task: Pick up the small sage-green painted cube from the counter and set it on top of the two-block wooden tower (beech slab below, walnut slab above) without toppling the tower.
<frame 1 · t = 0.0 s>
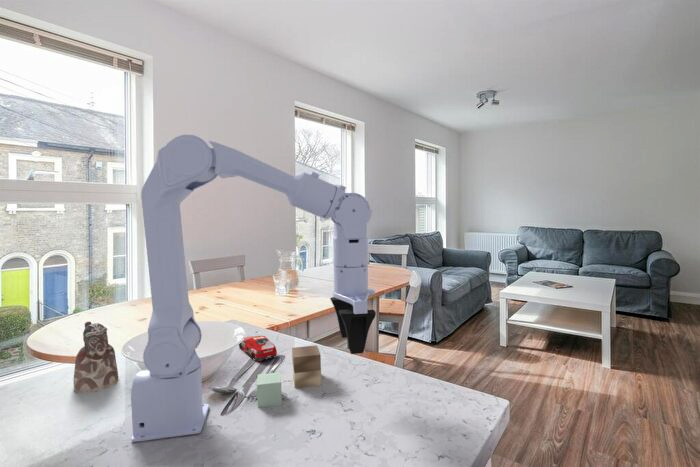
hand: (351, 344, 63), 10 cm above the kitchen counter, tool pointing down, fingers open, 7 cm apart
walnut top block: (306, 366, 72), point 3 cm above the kitchen counter, touching beech base block
beech base block: (307, 381, 72), on the kitchen counter, touching walnut top block
sage cube: (269, 400, 65), on the kitchen counter
figurine: (96, 385, 72), on the kitchen counter
race car: (257, 354, 87), on the kitchen counter
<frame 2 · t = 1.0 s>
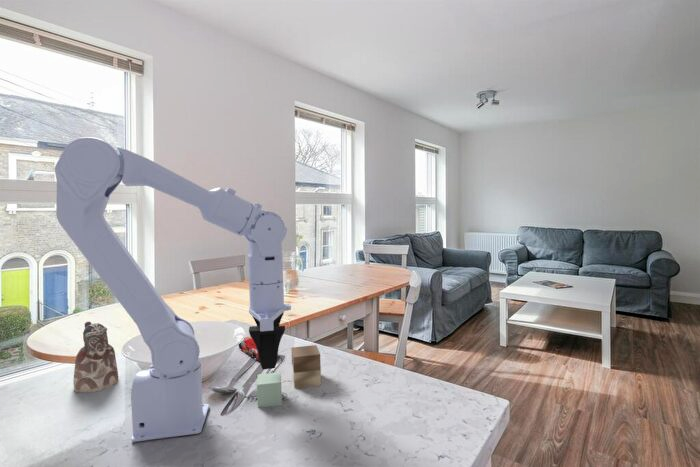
hand: (269, 358, 65), 7 cm above the kitchen counter, tool pointing down, fingers open, 7 cm apart
walnut top block: (305, 365, 72), point 3 cm above the kitchen counter
beech base block: (306, 381, 72), on the kitchen counter
everything else where it was.
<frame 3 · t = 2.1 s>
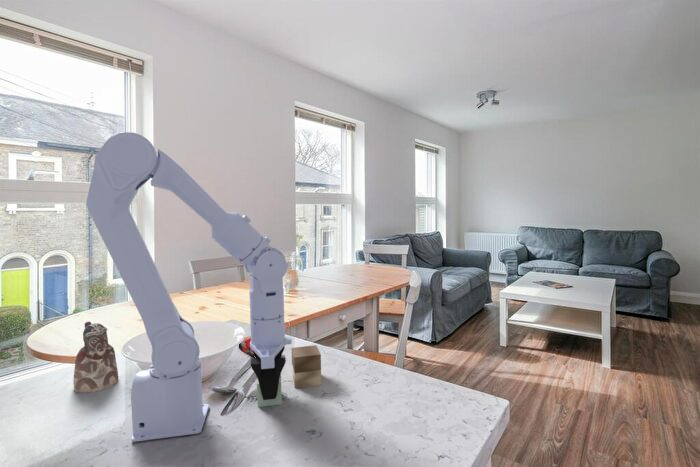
hand: (269, 391, 65), 1 cm above the kitchen counter, tool pointing down, fingers closed on sage cube, 4 cm apart
walnut top block: (306, 366, 72), point 3 cm above the kitchen counter, touching beech base block
beech base block: (306, 381, 72), on the kitchen counter, touching walnut top block
sage cube: (270, 399, 65), on the kitchen counter, touching gripper
everything else where it was.
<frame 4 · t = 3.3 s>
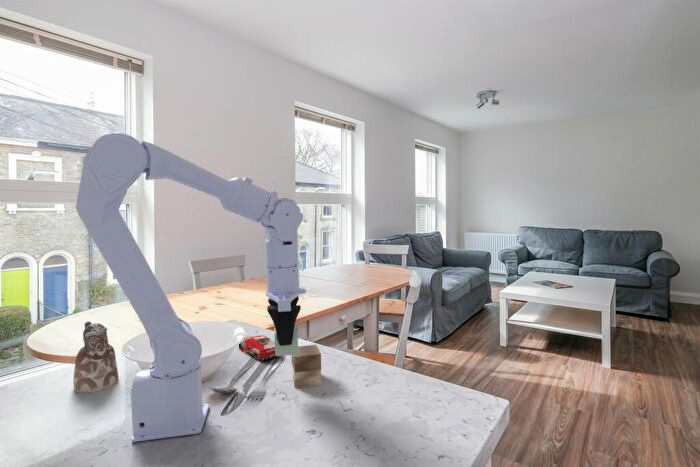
hand: (285, 340, 67), 10 cm above the kitchen counter, tool pointing down, fingers closed on sage cube, 4 cm apart
sage cube: (286, 351, 67), point 8 cm above the kitchen counter, touching gripper
everything else where it was.
when the fingers open (9 cm above the kitchen counter, at t = 4.3 s): sage cube stays where it is, resting on walnut top block.
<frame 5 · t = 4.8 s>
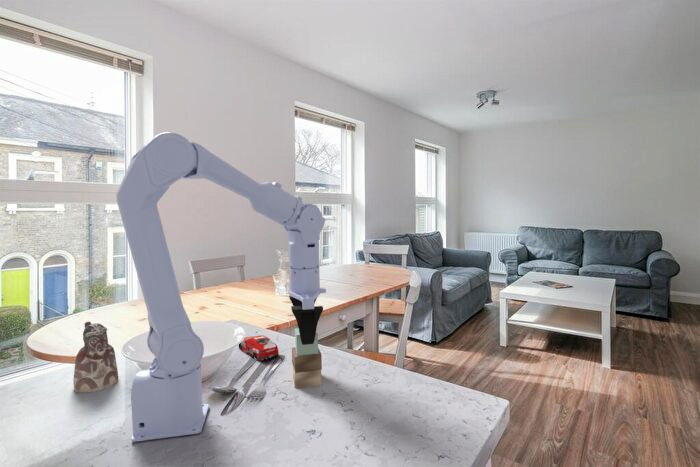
hand: (306, 336, 72), 9 cm above the kitchen counter, tool pointing down, fingers open, 7 cm apart
walnut top block: (306, 365, 72), point 3 cm above the kitchen counter, touching beech base block, sage cube
sage cube: (306, 350, 72), point 6 cm above the kitchen counter, touching walnut top block
everything else where it was.
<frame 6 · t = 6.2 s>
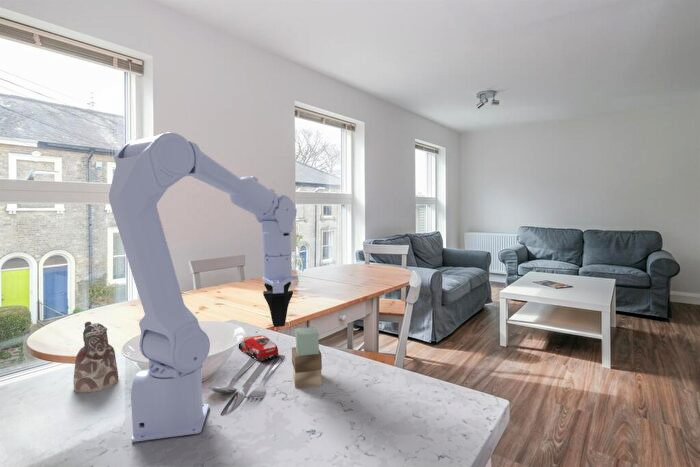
hand: (278, 320, 76), 10 cm above the kitchen counter, tool pointing down, fingers open, 7 cm apart
walnut top block: (306, 365, 72), point 3 cm above the kitchen counter, touching sage cube
beech base block: (307, 381, 72), on the kitchen counter
everything else where it was.
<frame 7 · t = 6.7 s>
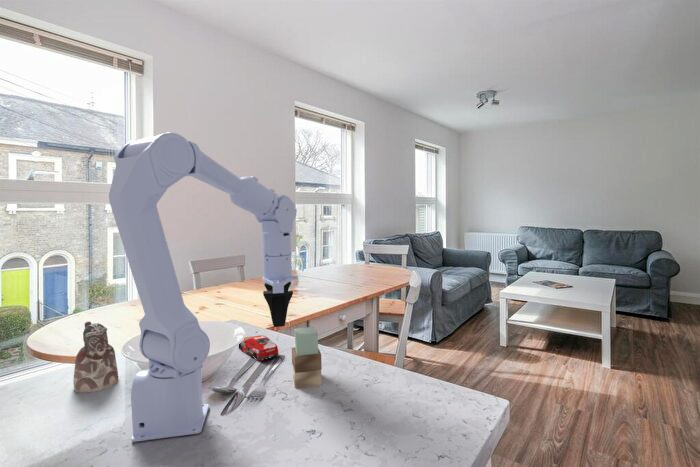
hand: (278, 320, 76), 10 cm above the kitchen counter, tool pointing down, fingers open, 7 cm apart
walnut top block: (306, 365, 72), point 3 cm above the kitchen counter, touching beech base block, sage cube
beech base block: (307, 381, 72), on the kitchen counter, touching walnut top block
everything else where it was.
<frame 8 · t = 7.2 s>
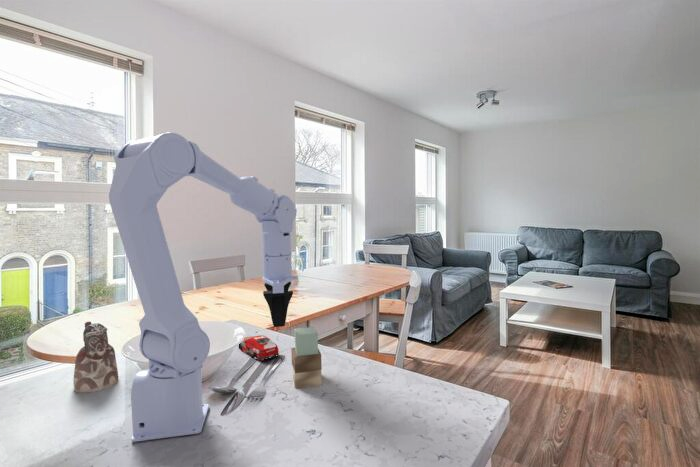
hand: (278, 320, 76), 10 cm above the kitchen counter, tool pointing down, fingers open, 7 cm apart
nothing on the kitchen counter moved.
at the end: sage cube 0.1 cm off-centre on the walnut top block, point 3.0 cm above the walnut top block's base; walnut top block tilted 0°; the gripper is holding nothing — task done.
